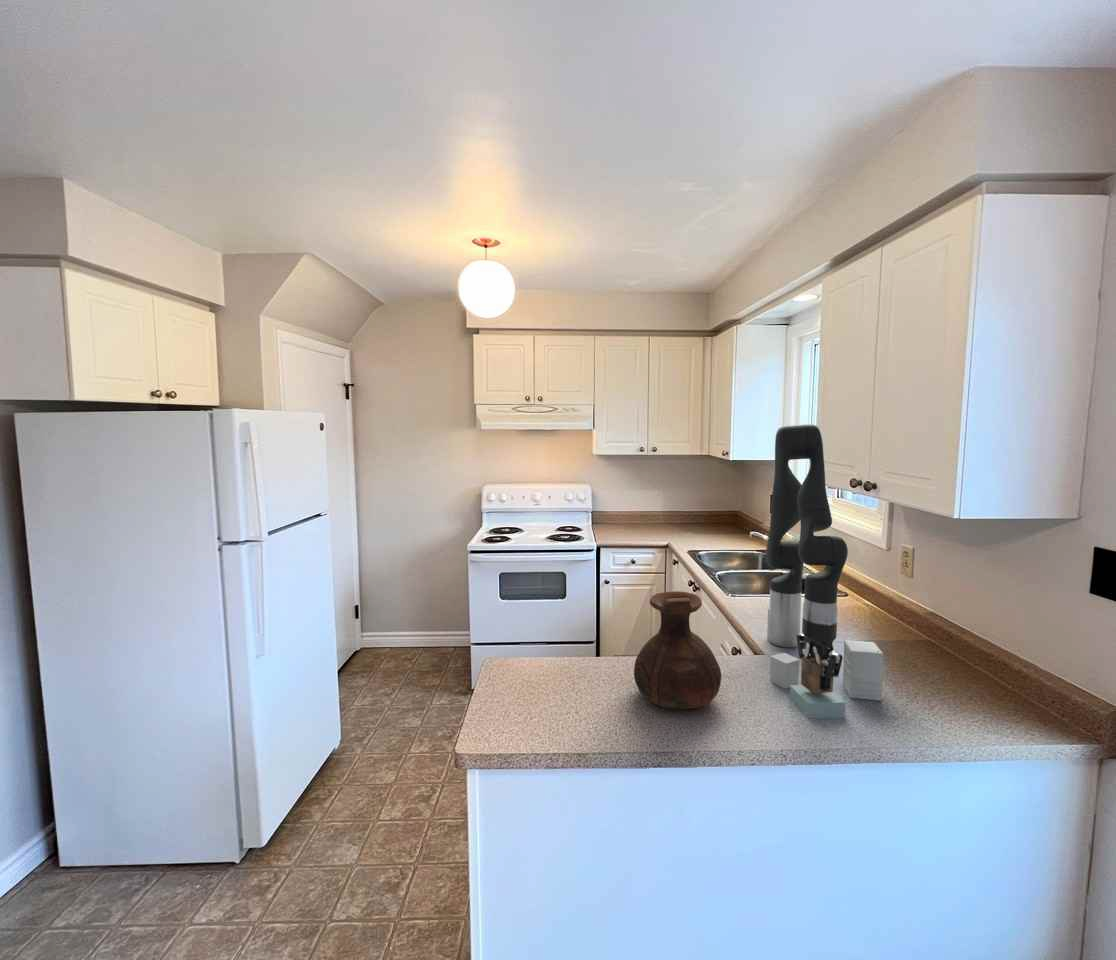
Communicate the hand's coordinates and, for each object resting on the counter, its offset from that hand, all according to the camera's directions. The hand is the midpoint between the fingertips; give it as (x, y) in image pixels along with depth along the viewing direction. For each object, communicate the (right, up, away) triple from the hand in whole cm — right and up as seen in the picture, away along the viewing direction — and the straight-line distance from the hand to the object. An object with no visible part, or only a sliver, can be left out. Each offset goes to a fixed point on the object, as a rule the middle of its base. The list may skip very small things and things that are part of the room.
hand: (817, 684), depth 129 cm
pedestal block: (0, -6, +1) cm, 6 cm away
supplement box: (+15, -5, +7) cm, 18 cm away
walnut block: (0, -1, 0) cm, 1 cm away
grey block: (-2, -5, +13) cm, 14 cm away
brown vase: (-33, -6, +6) cm, 34 cm away
